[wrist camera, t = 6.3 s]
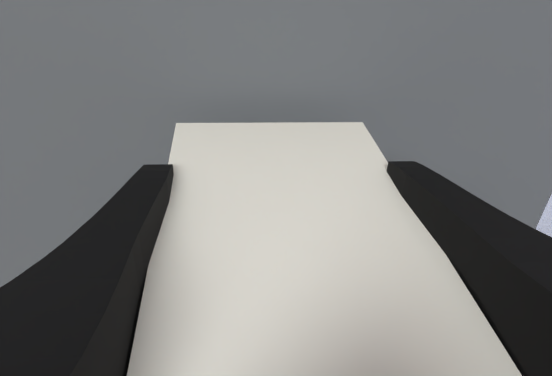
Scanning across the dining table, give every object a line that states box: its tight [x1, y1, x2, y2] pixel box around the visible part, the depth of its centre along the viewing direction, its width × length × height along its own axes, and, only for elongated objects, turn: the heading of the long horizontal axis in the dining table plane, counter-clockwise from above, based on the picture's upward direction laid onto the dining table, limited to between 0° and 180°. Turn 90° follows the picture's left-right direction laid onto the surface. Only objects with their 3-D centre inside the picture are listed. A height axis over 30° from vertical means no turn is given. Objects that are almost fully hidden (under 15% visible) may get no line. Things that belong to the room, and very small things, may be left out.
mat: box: [0, 0, 552, 287], centre depth 18 cm, size 20×31×1 cm, turn 178°
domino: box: [127, 122, 522, 376], centre depth 9 cm, size 2×5×9 cm, turn 87°
